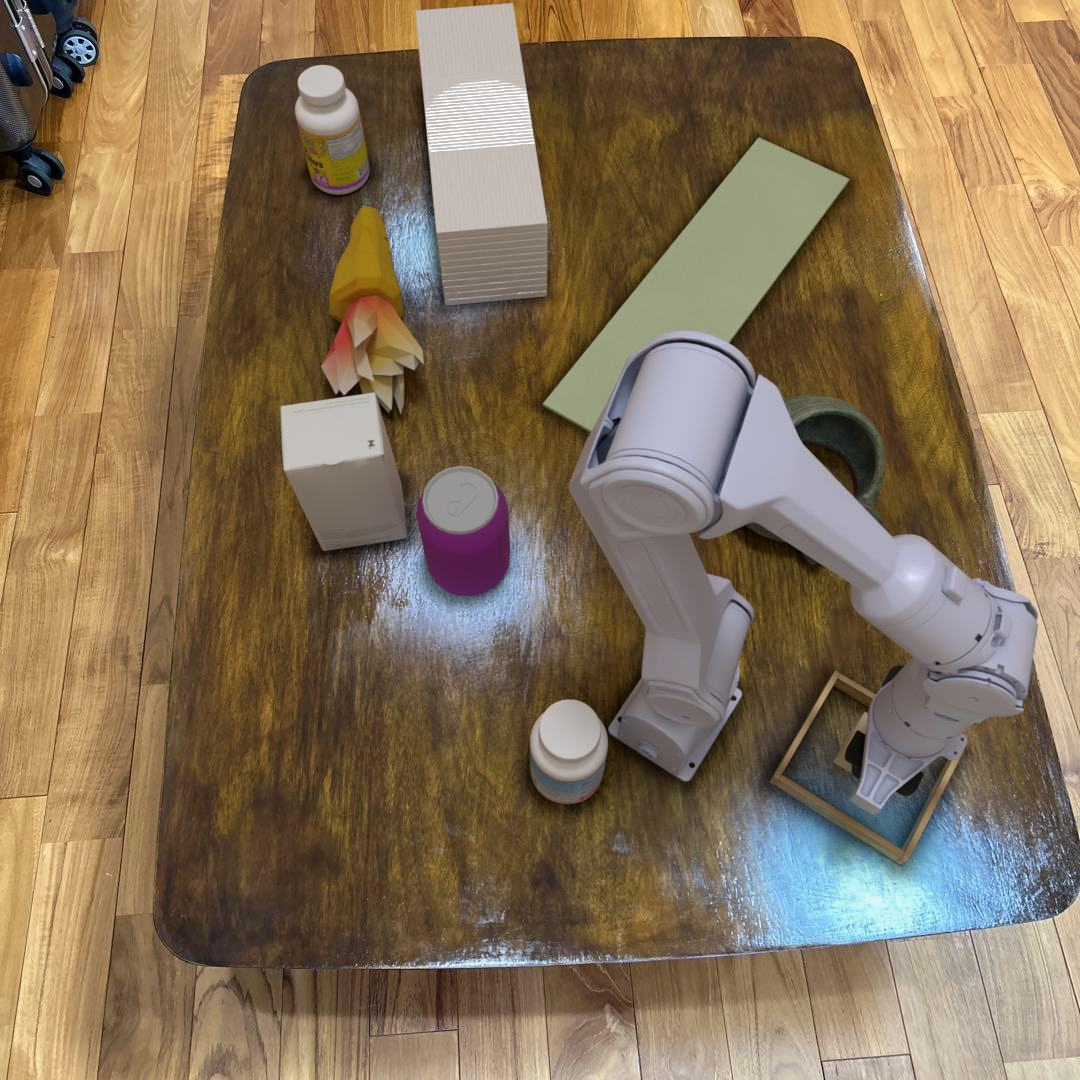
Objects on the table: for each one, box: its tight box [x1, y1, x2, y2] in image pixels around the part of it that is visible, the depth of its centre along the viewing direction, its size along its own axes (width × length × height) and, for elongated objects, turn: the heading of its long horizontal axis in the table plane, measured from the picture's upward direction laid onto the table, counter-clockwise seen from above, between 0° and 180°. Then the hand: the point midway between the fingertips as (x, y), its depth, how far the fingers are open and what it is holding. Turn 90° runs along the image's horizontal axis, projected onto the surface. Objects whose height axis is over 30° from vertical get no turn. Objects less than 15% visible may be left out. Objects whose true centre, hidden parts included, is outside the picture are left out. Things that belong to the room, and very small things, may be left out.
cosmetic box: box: [280, 392, 408, 552], centre depth 94 cm, size 8×7×16 cm
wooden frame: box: [768, 670, 966, 866], centre depth 89 cm, size 11×12×2 cm
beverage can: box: [415, 465, 511, 597], centre depth 93 cm, size 8×8×12 cm
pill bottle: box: [529, 698, 609, 805], centre depth 85 cm, size 6×6×11 cm
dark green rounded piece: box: [745, 394, 887, 566], centre depth 97 cm, size 15×15×10 cm
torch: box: [320, 205, 425, 415], centre depth 108 cm, size 8×8×25 cm
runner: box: [542, 137, 850, 434], centre depth 113 cm, size 44×12×1 cm, turn 146°
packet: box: [833, 711, 868, 774], centre depth 86 cm, size 4×5×3 cm
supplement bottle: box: [294, 64, 371, 196], centre depth 115 cm, size 7×7×13 cm
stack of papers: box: [414, 2, 549, 307], centre depth 115 cm, size 32×11×11 cm, turn 7°
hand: (877, 753), depth 86 cm, fingers closed on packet, 4 cm apart
